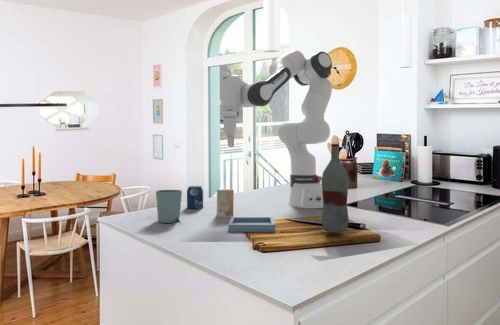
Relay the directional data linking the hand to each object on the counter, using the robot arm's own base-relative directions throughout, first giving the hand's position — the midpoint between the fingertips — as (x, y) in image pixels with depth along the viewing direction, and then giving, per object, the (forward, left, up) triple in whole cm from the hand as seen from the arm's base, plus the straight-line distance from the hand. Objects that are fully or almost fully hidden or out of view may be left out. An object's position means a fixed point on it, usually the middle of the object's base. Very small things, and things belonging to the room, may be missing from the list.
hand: (230, 146), depth 182 cm
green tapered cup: (+24, +12, -29) cm, 40 cm away
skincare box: (+2, +9, -29) cm, 31 cm away
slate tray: (-9, +27, -29) cm, 41 cm away
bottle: (-38, +32, -29) cm, 58 cm away
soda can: (+16, -4, -29) cm, 34 cm away
